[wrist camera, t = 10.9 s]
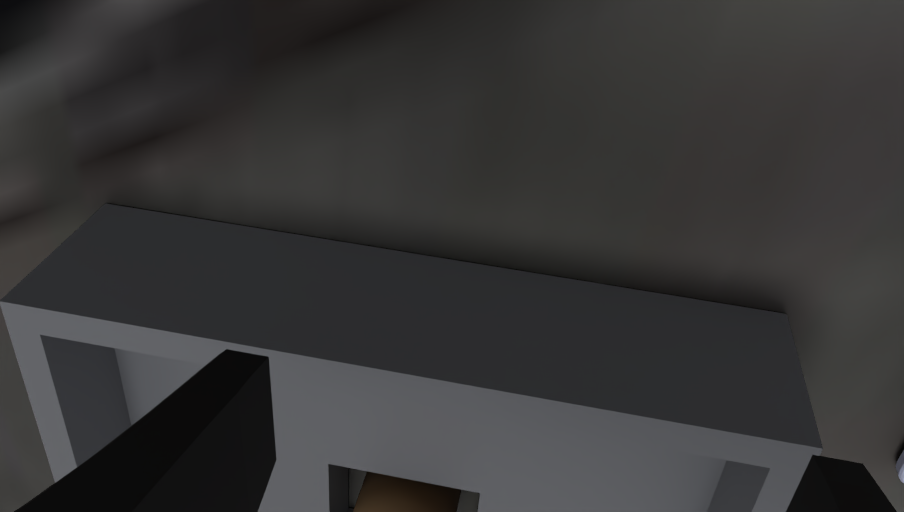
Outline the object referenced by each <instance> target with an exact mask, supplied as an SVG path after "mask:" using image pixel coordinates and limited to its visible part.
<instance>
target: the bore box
mask: <svg viewBox="0 0 904 512" xmlns="http://www.w3.org/2000/svg"><path fill="white" fill-rule="evenodd" d="M0 305H1V308H2V312H3V315H4V318H5V321H6V325H7V328H8V331H9V334H10V338H11V341H12V344H13V347H14V351H15V354H16V357H17V360H18V364H19V367H20V370H21V373H22V377H23V380H24V383H25V386H26V390H27V393H28V396H29V399H30V403H31V406H32V409H33V412H34V416H35V419H36V422H37V425H38V428H39V432H40V435H41V438H42V441H43V445H44V448H45V451H46V454H47V458H48V461H49V464H50V467H51V471H52V474H53V477H54V480H55V483H56V482H57V481H58V480H60V479H61V478H63V477H64V476H65V475H67V474H68V473H70V472H71V471H72V470H74V469H75V468H77V467H78V466H79V465H81V464H82V463H84V462H85V461H86V460H88V459H89V458H90V457H92V456H93V455H94V454H96V453H97V452H98V451H100V450H101V449H102V448H103V447H105V446H106V445H107V444H109V443H110V442H111V441H112V440H114V439H115V438H116V437H118V436H119V435H120V434H121V433H123V432H124V431H125V430H127V429H128V428H129V427H130V426H132V425H133V424H134V423H136V422H137V421H138V420H139V419H141V418H142V417H143V416H144V415H146V414H147V413H148V412H149V411H151V410H152V409H153V408H154V407H155V406H157V405H158V404H159V403H160V402H162V401H163V400H164V399H165V398H167V397H168V396H169V395H170V394H171V393H173V392H174V391H175V390H176V389H178V388H179V387H180V386H181V385H182V384H184V383H185V382H186V381H187V380H188V379H190V378H191V377H192V376H193V375H194V374H196V373H197V372H198V371H199V370H200V369H202V368H203V367H204V366H205V365H207V364H208V363H209V362H210V361H211V360H213V359H214V358H215V357H216V356H218V355H219V354H220V353H222V352H223V351H225V350H226V349H229V350H234V351H240V352H245V353H251V354H256V355H262V356H267V357H269V366H270V380H271V393H272V406H273V420H274V433H275V446H276V459H277V460H276V463H275V465H274V468H273V471H272V474H271V477H270V479H269V482H268V485H267V488H266V491H265V493H264V496H263V499H262V502H261V504H260V507H259V509H258V512H353V510H354V509H352V508H348V468H352V469H358V470H363V471H368V472H373V473H378V474H383V475H389V476H394V477H399V478H404V479H409V480H414V481H420V482H425V483H430V484H435V485H440V486H445V487H451V488H456V489H461V490H466V491H471V492H476V493H480V498H479V505H478V512H786V510H787V508H788V506H789V504H790V502H791V500H792V498H793V495H794V493H795V491H796V489H797V487H798V485H799V483H800V481H801V478H802V476H803V474H804V472H805V470H806V468H807V466H808V463H809V461H810V459H811V457H812V455H817V456H820V454H821V452H822V450H823V447H822V444H821V440H820V436H819V432H818V429H817V425H816V421H815V417H814V414H813V410H812V406H811V403H810V399H809V395H808V391H807V388H806V384H805V380H804V376H803V373H802V369H801V365H800V361H799V358H798V354H797V350H796V346H795V343H794V339H793V335H792V332H791V328H790V324H789V320H788V317H787V314H784V313H778V312H772V311H765V310H759V309H753V308H747V307H741V306H735V305H728V304H722V303H716V302H710V301H704V300H698V299H691V298H685V297H679V296H673V295H667V294H661V293H655V292H648V291H642V290H636V289H630V288H624V287H618V286H611V285H605V284H599V283H593V282H587V281H581V280H574V279H568V278H562V277H556V276H550V275H544V274H537V273H531V272H525V271H519V270H513V269H507V268H500V267H494V266H488V265H482V264H476V263H470V262H463V261H457V260H451V259H445V258H439V257H433V256H426V255H420V254H414V253H408V252H402V251H396V250H389V249H383V248H377V247H371V246H365V245H359V244H352V243H346V242H340V241H334V240H328V239H322V238H315V237H309V236H303V235H297V234H291V233H285V232H278V231H272V230H266V229H260V228H254V227H248V226H242V225H235V224H229V223H223V222H217V221H211V220H205V219H198V218H192V217H186V216H180V215H174V214H168V213H161V212H155V211H149V210H143V209H137V208H131V207H124V206H118V205H112V204H106V203H105V204H104V205H103V206H102V207H101V208H100V209H99V210H98V211H97V212H96V213H94V214H93V215H92V216H91V217H90V218H89V219H88V220H87V221H86V222H85V223H84V224H82V225H81V226H80V227H79V228H78V229H77V230H76V231H75V232H74V233H73V234H72V235H71V236H69V237H68V238H67V239H66V240H65V241H64V242H63V243H62V244H61V245H60V246H59V247H58V248H56V249H55V250H54V251H53V252H52V253H51V254H50V255H49V256H48V257H47V258H46V259H45V260H43V261H42V262H41V263H40V264H39V265H38V266H37V267H36V268H35V269H34V270H33V271H32V272H30V273H29V274H28V275H27V276H26V277H25V278H24V279H23V280H22V281H21V282H20V283H18V284H17V285H16V286H15V287H14V288H13V289H12V290H11V291H10V292H9V293H8V294H7V295H5V296H4V297H3V298H2V299H1V300H0Z"/></svg>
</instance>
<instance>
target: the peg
mask: <svg viewBox="0 0 904 512" xmlns="http://www.w3.org/2000/svg"><path fill="white" fill-rule="evenodd" d="M460 493H461V489H456V488H451V487H445V486H440V485H435V484H430V483H425V482H420V481H414V480H409V479H404V478H399V477H394V476H389V475H383V474H378V473H373V472H368V471H367V473H366V476H365V479H364V482H363V485H362V488H361V491H360V493H359V496H358V499H357V502H356V505H355V508H354V510H353V512H456V511H457V506H458V502H459V497H460Z"/></svg>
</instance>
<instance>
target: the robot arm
mask: <svg viewBox="0 0 904 512" xmlns="http://www.w3.org/2000/svg"><path fill="white" fill-rule="evenodd" d="M276 460H277V459H276V446H275V433H274V420H273V406H272V393H271V380H270V366H269V357H267V356H262V355H256V354H251V353H245V352H240V351H234V350H229V349H226V350H225V351H223V352H222V353H220V354H219V355H218V356H216V357H215V358H214V359H213V360H211V361H210V362H209V363H208V364H207V365H205V366H204V367H203V368H202V369H200V370H199V371H198V372H197V373H196V374H194V375H193V376H192V377H191V378H190V379H188V380H187V381H186V382H185V383H184V384H182V385H181V386H180V387H179V388H178V389H176V390H175V391H174V392H173V393H171V394H170V395H169V396H168V397H167V398H165V399H164V400H163V401H162V402H160V403H159V404H158V405H157V406H155V407H154V408H153V409H152V410H151V411H149V412H148V413H147V414H146V415H144V416H143V417H142V418H141V419H139V420H138V421H137V422H136V423H134V424H133V425H132V426H130V427H129V428H128V429H127V430H125V431H124V432H123V433H121V434H120V435H119V436H118V437H116V438H115V439H114V440H112V441H111V442H110V443H109V444H107V445H106V446H105V447H103V448H102V449H101V450H100V451H98V452H97V453H96V454H94V455H93V456H92V457H90V458H89V459H88V460H86V461H85V462H84V463H82V464H81V465H79V466H78V467H77V468H75V469H74V470H72V471H71V472H70V473H68V474H67V475H65V476H64V477H63V478H61V479H60V480H58V481H57V482H56V483H54V484H53V485H51V486H50V487H49V488H47V489H46V490H44V491H43V492H42V493H40V494H39V495H37V496H36V497H35V498H33V499H32V500H30V501H29V502H28V503H26V504H25V505H23V506H22V507H20V508H19V509H17V510H16V511H14V512H258V509H259V507H260V504H261V502H262V499H263V496H264V493H265V491H266V488H267V485H268V482H269V479H270V477H271V474H272V471H273V468H274V465H275V463H276ZM896 470H897V473H898V476H899V478H900V481H901V482H903V483H904V450H903V452H902V454H901V455H900V457H899V459H898V461H897V463H896ZM786 512H897V511H896V510H895V509H894V507H893V506H892V504H891V503H890V502H889V500H888V499H887V497H886V496H885V494H884V493H883V492H882V490H881V489H880V487H879V486H878V484H877V483H876V482H875V480H874V479H873V477H872V476H871V475H870V473H869V472H868V470H867V469H866V468H865V466H864V465H863V464H861V463H856V462H850V461H845V460H839V459H834V458H828V457H822V456H817V455H812V457H811V459H810V461H809V463H808V466H807V468H806V470H805V472H804V474H803V476H802V478H801V481H800V483H799V485H798V487H797V489H796V491H795V493H794V495H793V498H792V500H791V502H790V504H789V506H788V508H787V510H786Z"/></svg>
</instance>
